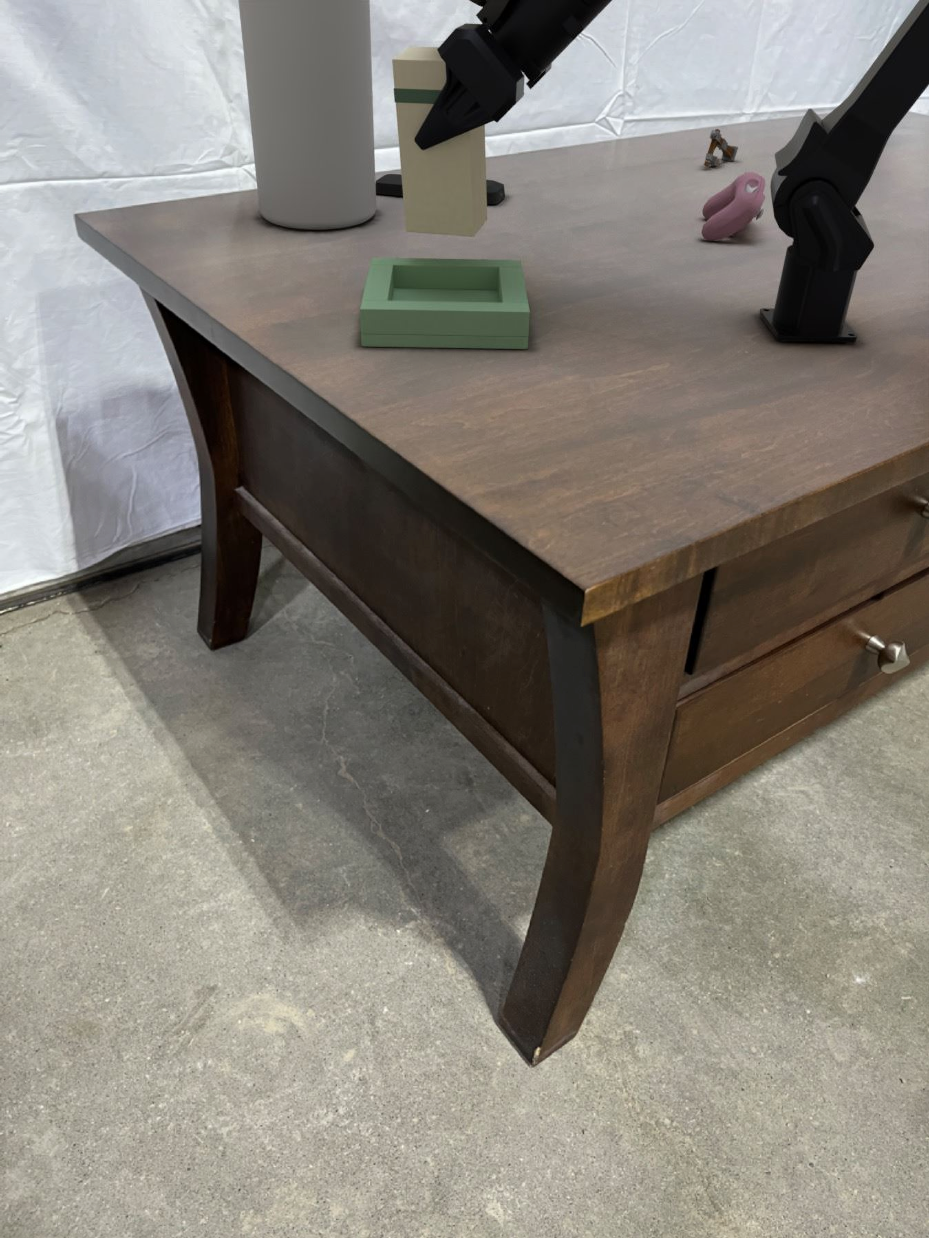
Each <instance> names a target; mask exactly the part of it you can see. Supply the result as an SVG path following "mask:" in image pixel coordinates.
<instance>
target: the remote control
mask: <svg viewBox="0 0 929 1238" xmlns="http://www.w3.org/2000/svg"><path fill="white" fill-rule="evenodd" d="M375 185H376V195H377V194H378V195H384V196H385V195H387V196H397V197H403V187H402V175H401V173H400V174H398V173H387V174H384V175H382V176H381V177H379V178H378V179H375ZM486 193H487V205H496V204H499V203H500V202H502V200H503V199H504V198H505V197H506V192H505V184H504V183H501V182H499V181H496V180H493V179H486Z"/></svg>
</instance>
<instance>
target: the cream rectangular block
mask: <svg viewBox="0 0 929 1238" xmlns="http://www.w3.org/2000/svg"><path fill="white" fill-rule="evenodd" d="M439 47H440V46H408V47H407V48H405V49H404V50H403V51H401V52H400V53H398V54H397V55H396V56H395V57H393V58H392V59H391V64H392V74H393V85H394V86H393V98H394V99H393V100H394V103H395V112H396V114H395V115H396V125H397V137H398V150H399V161H400V174H401V175H402V187H403V196H402V198H403V208H404V223H405V232H406V233H415V234H416V233H417V234H428V235H429V234H430V235H443V236H454V237H455V236H456V237H469V238H470V237H471V238H474V237H475V236H477V234H478V232H479V231H480V229H482V227H483V225H484V224H485V223H486V222H487V221H488V204H487V193H486V180H487V160H486V159H487V158H486V155H487V154H486V126H485V125H486V124H485V125H483V126H480V127H478V128H475V129H473V130H471V131H468V132H466V133H463V134H461V135H458V136H456V137H454V138H452V139H449V140H447V141H445V142H442V143H440V144H438V145H435V146H433V147H431V148H428V149H426V150H421V149H420V147H419V146H418V145H417V144H416V143H415V141H414V138H415V136H416V135H417V133H418V131H419V129H420V128H421V126H422V124H423V122H424V121H425V119H426V117H427V115H428V114H429V112H430V110H431V108H432V107H433V105H434V103H435V101H436V100H437V98H438V96H439V94H440V92H441V91H442V89H443V87H444V85H445V83H446V66H445V62H444V61H443V59H442V58H441V57H440V55H439V52H438V50H437V49H438V48H439Z"/></svg>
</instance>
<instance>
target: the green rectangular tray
mask: <svg viewBox="0 0 929 1238" xmlns="http://www.w3.org/2000/svg"><path fill="white" fill-rule="evenodd" d="M525 281H526V280H525V277H524V270H523V264H522V260H521V259H484V258H483V259H480V258H478V259H477V258H475V259H474V258H432V257H431V258H423V257H378V256H377V257H375V256H374V257H373V256H372V257H371V259H370V263H369V266H368V272H367V275H366V280H365V285H364V289H363V294H362V297H361V303H360V306H359V320H360V321H359V322H360V323H359V324H360V344H361V345H360V346H361V347H368V348H369V347H372V348H373V347H374V348H375V347H376V348H377V347H378V348H379V347H380V348H383V347H384V348H428V349H429V348H431V349H433V348H434V349H438V348H439V349H487V350H491V349H492V350H493V349H495V350H528V349H529V335H530V319H531V318H530V317H531V311H530V305H529V299H528V293H527V287H526V282H525Z"/></svg>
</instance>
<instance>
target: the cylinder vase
mask: <svg viewBox="0 0 929 1238" xmlns="http://www.w3.org/2000/svg"><path fill="white" fill-rule="evenodd" d="M370 2H371V1H370V0H238V7H239V8H238V9H239V20H240V31H241V40H242V50H243V61H244V69H245V80H246V89H247V91H246V92H247V100H248V109H249V119H250V129H251V131H250V132H251V140H252V150H253V151H252V152H253V159H254V168H255V178H256V190H257V198H258V200H257V201H258V209H259V212H260V215H261V216H262V217H263V219H265V221H268V222H269V223H270V224H273V225H276V226H280V227H283V228H288V229H296V230H306V231H307V230H309V231H312V230H313V231H324V230H335V229H345V228H350V227H354V226H357V225H360V224H363V223H365V222H367V221H369V220H370V219H371V218H372V217H373V216H374V215H375V213H376V211H377V193H376V185H375V184H376V163H375V162H376V159H375V158H376V157H375V156H376V155H375V128H374V127H375V125H374V124H375V123H374V97H373V68H372V67H373V66H372V64H373V63H372V36H371V10H370V9H371V4H370Z"/></svg>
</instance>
